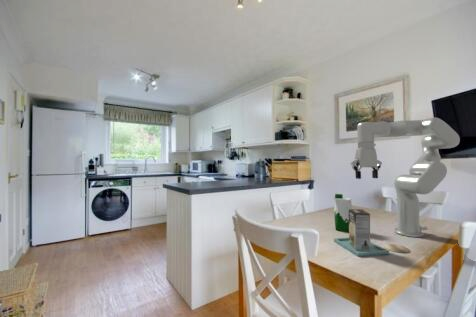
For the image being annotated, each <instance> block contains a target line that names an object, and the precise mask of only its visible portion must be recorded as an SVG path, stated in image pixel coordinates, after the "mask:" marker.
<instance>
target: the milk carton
mask: <svg viewBox="0 0 476 317" xmlns="http://www.w3.org/2000/svg"><path fill="white" fill-rule="evenodd" d="M333 201H334V205H333V206H334V210H333V211H334V226H335V231H339V232H345V233H349V209H353V204H352V197H346V196H343V194H342V193H335V194H334V199H333Z"/></svg>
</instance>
